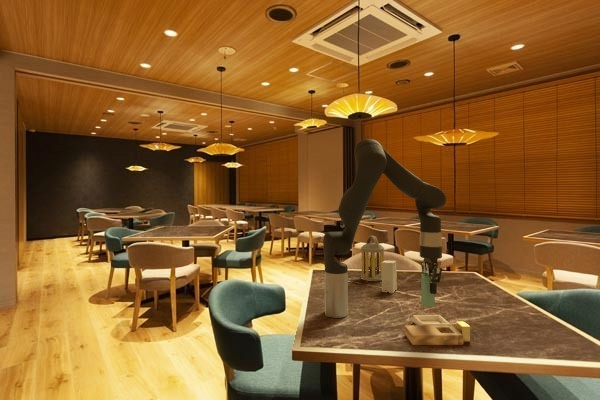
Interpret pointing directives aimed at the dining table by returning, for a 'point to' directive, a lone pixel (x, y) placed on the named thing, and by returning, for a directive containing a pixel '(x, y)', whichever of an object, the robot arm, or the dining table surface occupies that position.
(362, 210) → the robot arm
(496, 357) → the dining table surface
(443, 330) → the flat wooden block
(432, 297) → the peg
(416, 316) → the dish
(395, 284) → the skincare box
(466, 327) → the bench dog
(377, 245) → the lantern
